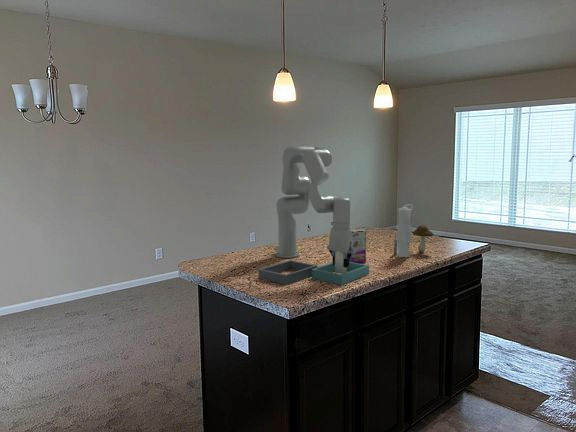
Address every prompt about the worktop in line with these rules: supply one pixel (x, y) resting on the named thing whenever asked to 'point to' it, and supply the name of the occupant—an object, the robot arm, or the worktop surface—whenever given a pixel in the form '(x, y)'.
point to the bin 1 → (274, 271)
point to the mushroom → (422, 236)
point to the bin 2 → (326, 275)
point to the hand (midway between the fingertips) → (340, 265)
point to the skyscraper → (403, 233)
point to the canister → (339, 262)
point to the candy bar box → (359, 246)
